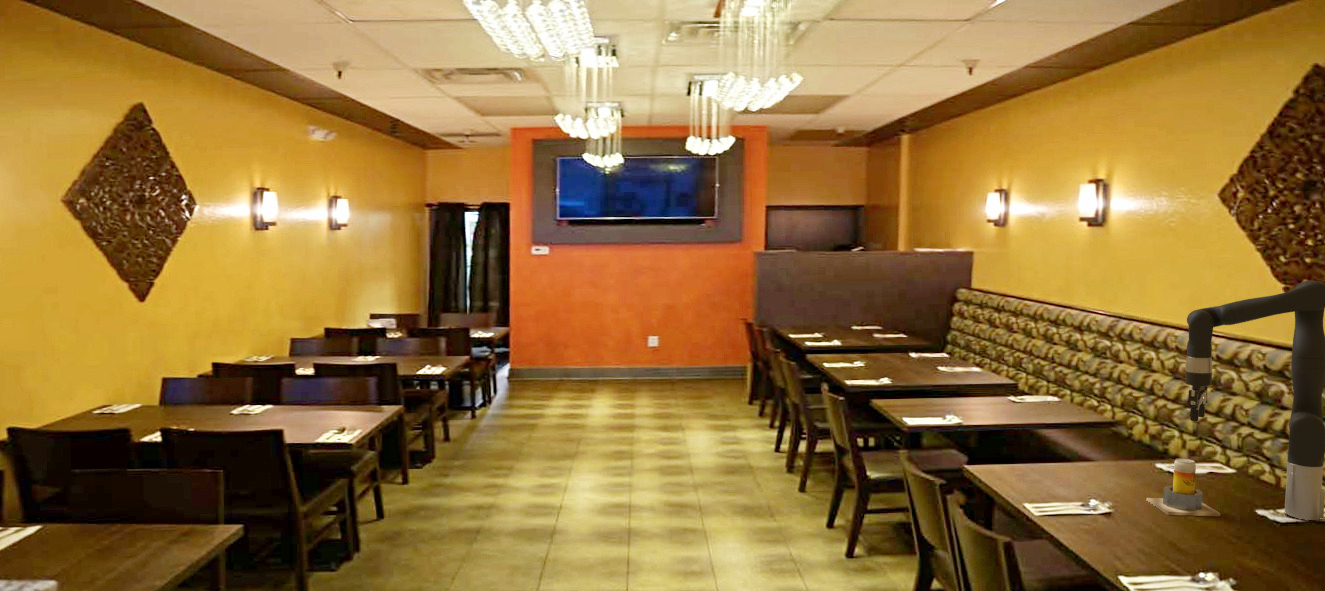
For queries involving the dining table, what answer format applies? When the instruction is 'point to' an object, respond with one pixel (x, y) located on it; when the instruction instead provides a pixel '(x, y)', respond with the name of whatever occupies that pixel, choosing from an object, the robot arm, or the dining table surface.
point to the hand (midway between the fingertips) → (1197, 418)
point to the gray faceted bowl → (1182, 499)
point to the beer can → (1184, 476)
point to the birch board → (1172, 511)
